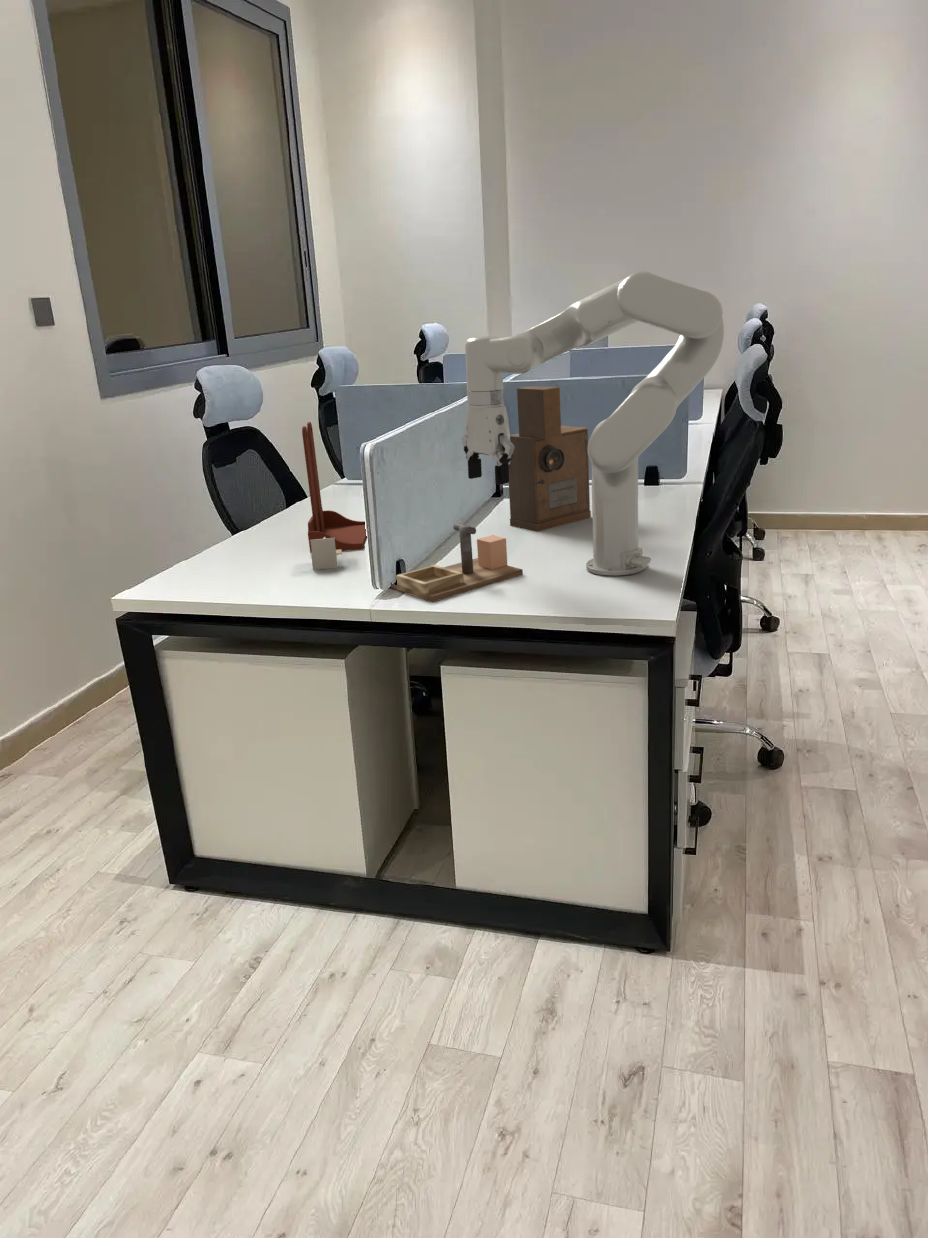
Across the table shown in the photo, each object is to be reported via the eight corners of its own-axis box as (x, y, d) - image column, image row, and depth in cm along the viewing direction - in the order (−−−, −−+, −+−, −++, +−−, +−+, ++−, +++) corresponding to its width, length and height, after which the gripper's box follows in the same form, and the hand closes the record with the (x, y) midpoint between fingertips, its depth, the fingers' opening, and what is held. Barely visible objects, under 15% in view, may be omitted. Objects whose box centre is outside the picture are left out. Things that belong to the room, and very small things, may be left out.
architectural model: (313, 567, 218) (309, 536, 216) (343, 564, 219) (339, 533, 217) (313, 571, 215) (309, 540, 213) (343, 568, 216) (339, 537, 213)
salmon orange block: (507, 564, 203) (506, 538, 201) (491, 569, 200) (489, 542, 198) (494, 561, 206) (492, 534, 204) (478, 565, 204) (476, 539, 202)
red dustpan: (363, 549, 230) (349, 427, 220) (310, 553, 230) (294, 431, 220) (371, 526, 252) (359, 414, 243) (323, 530, 253) (309, 418, 243)
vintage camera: (546, 534, 231) (540, 389, 220) (510, 525, 242) (502, 387, 230) (601, 519, 242) (598, 381, 230) (564, 512, 252) (559, 379, 241)
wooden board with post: (522, 574, 199) (520, 522, 195) (432, 602, 186) (427, 546, 182) (479, 562, 211) (475, 512, 207) (390, 587, 197) (385, 534, 193)
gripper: (525, 399, 188) (527, 483, 194) (475, 394, 201) (479, 473, 207) (495, 403, 184) (498, 489, 190) (447, 397, 197) (451, 478, 203)
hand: (488, 480), depth 198 cm, fingers open, 9 cm apart
